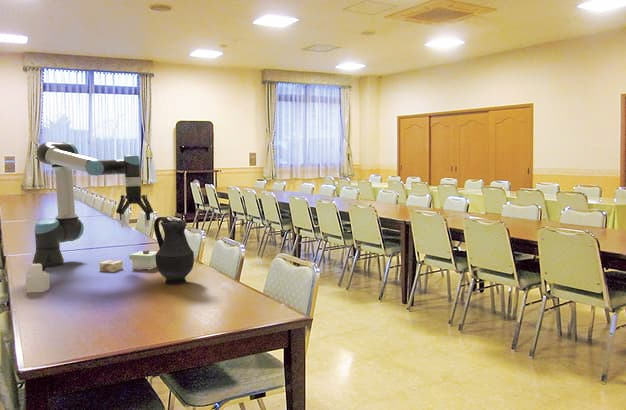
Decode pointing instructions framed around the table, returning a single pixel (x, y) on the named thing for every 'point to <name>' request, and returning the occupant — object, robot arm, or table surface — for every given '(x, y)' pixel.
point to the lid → (143, 255)
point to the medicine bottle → (37, 278)
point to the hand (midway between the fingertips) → (135, 226)
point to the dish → (143, 264)
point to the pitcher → (173, 251)
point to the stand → (111, 266)
